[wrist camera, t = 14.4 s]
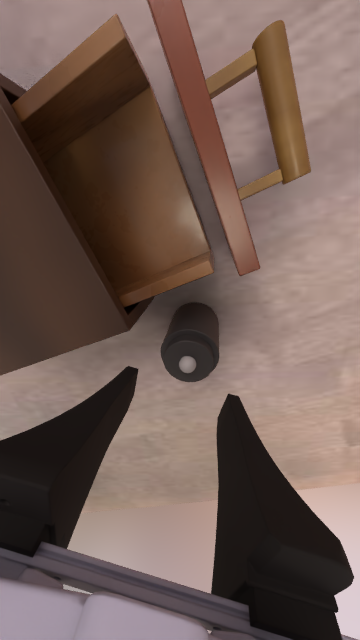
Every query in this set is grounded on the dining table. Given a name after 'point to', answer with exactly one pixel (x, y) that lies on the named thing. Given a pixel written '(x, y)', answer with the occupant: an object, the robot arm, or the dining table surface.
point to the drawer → (155, 150)
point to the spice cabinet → (45, 260)
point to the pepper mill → (191, 343)
